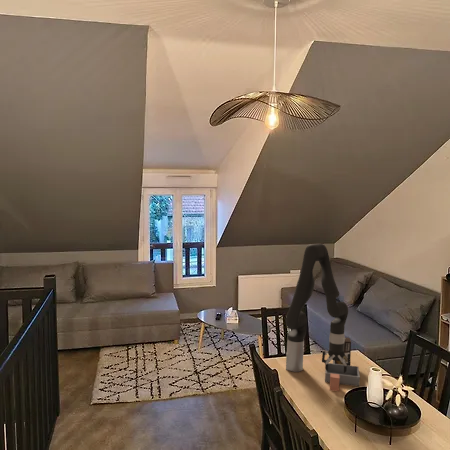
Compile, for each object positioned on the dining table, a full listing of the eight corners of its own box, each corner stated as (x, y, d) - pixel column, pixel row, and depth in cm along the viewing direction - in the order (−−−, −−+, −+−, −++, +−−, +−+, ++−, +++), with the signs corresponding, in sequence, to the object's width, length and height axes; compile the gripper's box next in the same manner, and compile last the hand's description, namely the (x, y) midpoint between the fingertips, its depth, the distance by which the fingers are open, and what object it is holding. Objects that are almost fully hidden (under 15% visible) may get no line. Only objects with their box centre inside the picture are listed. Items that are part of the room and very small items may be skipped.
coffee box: (348, 363, 257) (349, 337, 255) (350, 368, 251) (351, 341, 249) (332, 362, 258) (333, 336, 256) (334, 367, 252) (335, 340, 250)
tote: (324, 381, 234) (325, 373, 233) (325, 371, 247) (325, 362, 246) (359, 386, 229) (359, 377, 229) (357, 375, 242) (358, 366, 242)
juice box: (329, 390, 225) (330, 377, 224) (329, 386, 229) (330, 373, 228) (338, 391, 224) (339, 378, 223) (338, 387, 228) (339, 374, 227)
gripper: (322, 342, 222) (321, 372, 223) (351, 344, 218) (350, 376, 220) (322, 337, 229) (321, 366, 230) (351, 339, 226) (349, 369, 227)
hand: (335, 371), depth 225 cm, fingers open, 8 cm apart
